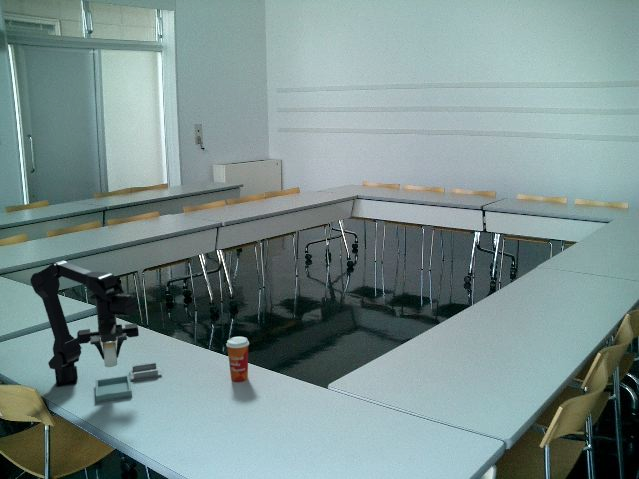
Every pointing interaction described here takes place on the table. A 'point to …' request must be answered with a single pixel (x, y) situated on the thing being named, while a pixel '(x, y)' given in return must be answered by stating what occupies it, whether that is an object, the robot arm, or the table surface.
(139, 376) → the clip rails
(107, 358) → the cylinder
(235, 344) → the paper cup
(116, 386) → the tray
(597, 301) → the table surface
